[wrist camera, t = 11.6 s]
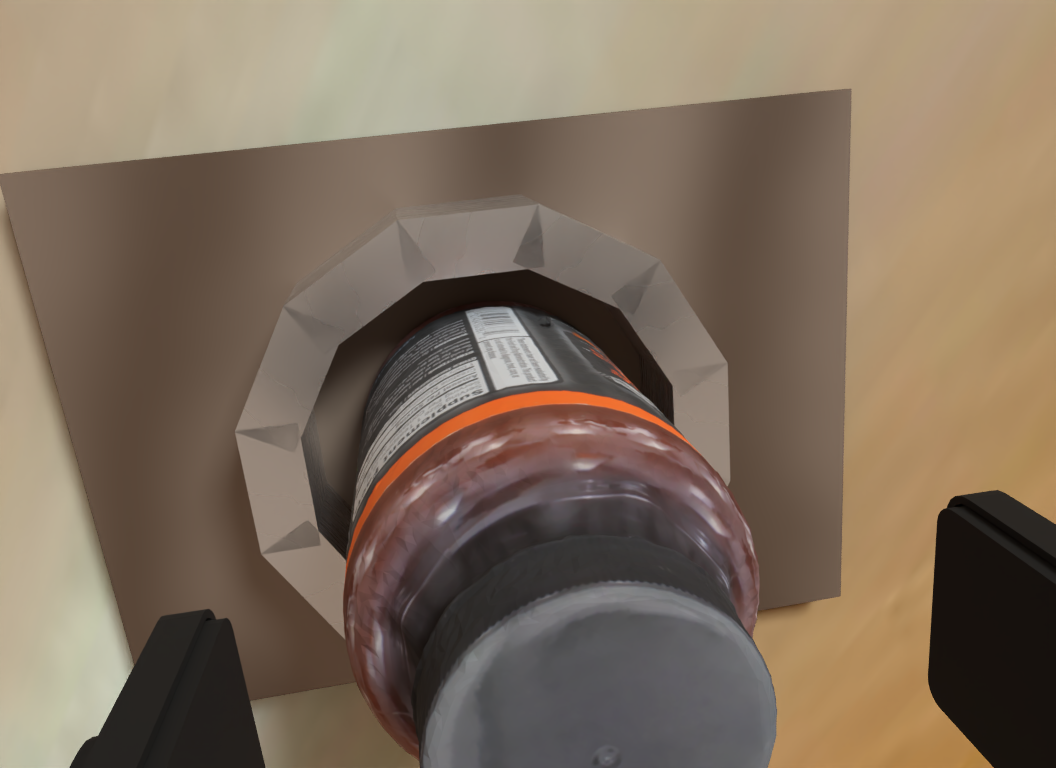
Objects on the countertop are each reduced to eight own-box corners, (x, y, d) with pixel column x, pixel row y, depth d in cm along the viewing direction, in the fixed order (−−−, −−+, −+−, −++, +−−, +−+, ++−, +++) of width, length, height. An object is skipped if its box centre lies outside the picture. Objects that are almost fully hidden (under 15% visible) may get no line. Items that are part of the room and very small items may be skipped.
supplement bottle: (657, 450, 21) (946, 799, 10) (451, 576, 21) (515, 1055, 10) (535, 241, 19) (730, 395, 8) (309, 382, 19) (200, 721, 8)
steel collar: (681, 176, 19) (723, 183, 16) (696, 571, 22) (734, 625, 19) (220, 227, 18) (193, 242, 15) (304, 637, 21) (293, 703, 18)
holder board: (829, 90, 20) (851, 88, 19) (822, 577, 24) (840, 596, 23) (18, 171, 18) (-3, 174, 17) (160, 692, 22) (149, 718, 21)
